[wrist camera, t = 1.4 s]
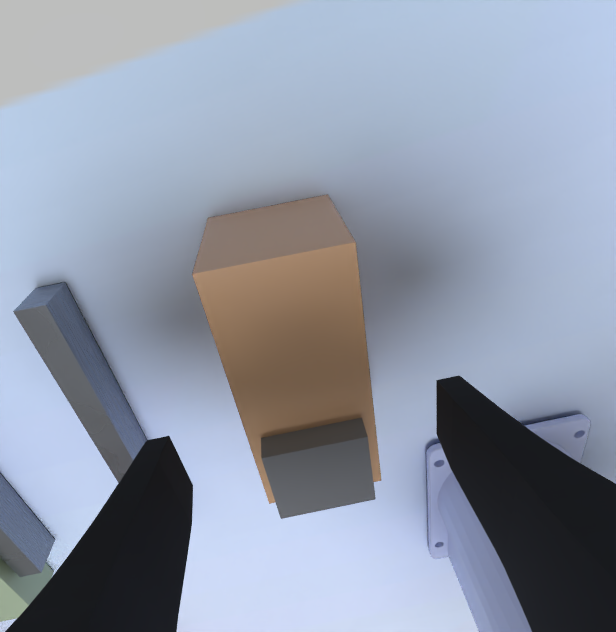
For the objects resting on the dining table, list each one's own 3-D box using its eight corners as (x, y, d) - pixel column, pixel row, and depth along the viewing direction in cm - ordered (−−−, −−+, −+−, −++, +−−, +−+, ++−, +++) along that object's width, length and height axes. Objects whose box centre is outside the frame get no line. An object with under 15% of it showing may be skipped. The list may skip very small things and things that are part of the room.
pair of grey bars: (184, 512, 21) (179, 543, 20) (34, 543, 21) (20, 577, 20) (65, 282, 14) (45, 304, 13) (-157, 326, 14) (-200, 353, 13)
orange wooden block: (354, 395, 19) (387, 500, 14) (265, 413, 19) (270, 524, 14) (327, 193, 14) (363, 254, 10) (208, 216, 14) (188, 289, 10)
